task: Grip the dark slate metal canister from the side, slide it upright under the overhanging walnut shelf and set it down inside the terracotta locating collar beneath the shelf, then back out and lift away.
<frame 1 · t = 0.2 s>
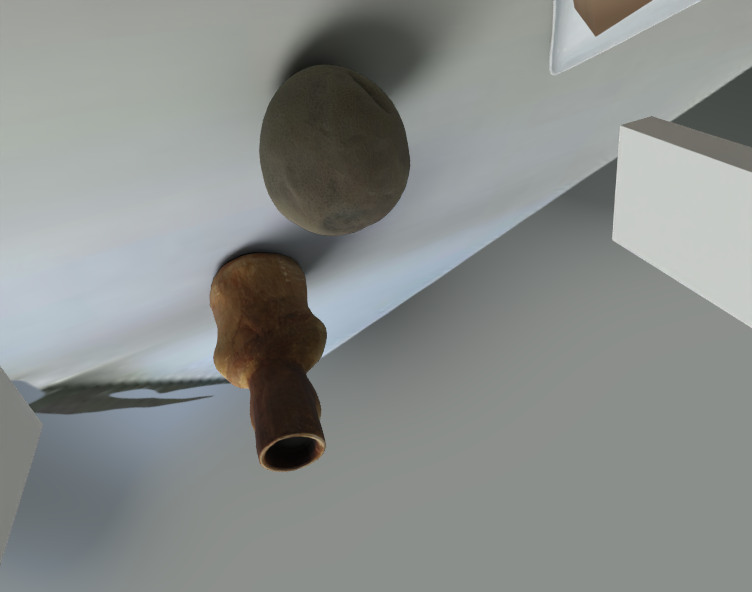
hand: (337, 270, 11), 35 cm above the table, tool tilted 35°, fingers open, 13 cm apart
ceramic vessel: (246, 267, 80), on the table
cantaloupe: (308, 94, 55), on the table
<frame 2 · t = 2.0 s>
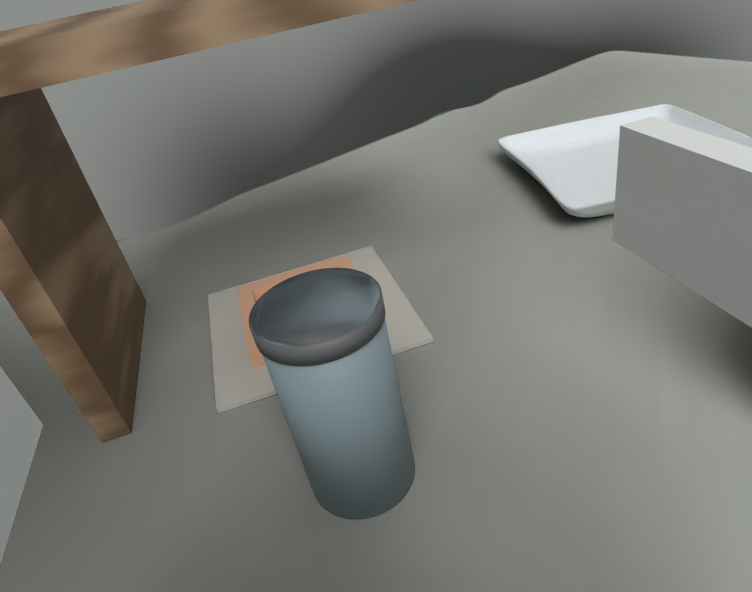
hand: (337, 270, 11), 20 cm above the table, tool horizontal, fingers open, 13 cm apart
canister: (363, 472, 32), on the table
shelf: (281, 312, 47), on the table
seat collar: (308, 317, 46), on the table
salad plate: (623, 178, 58), on the table
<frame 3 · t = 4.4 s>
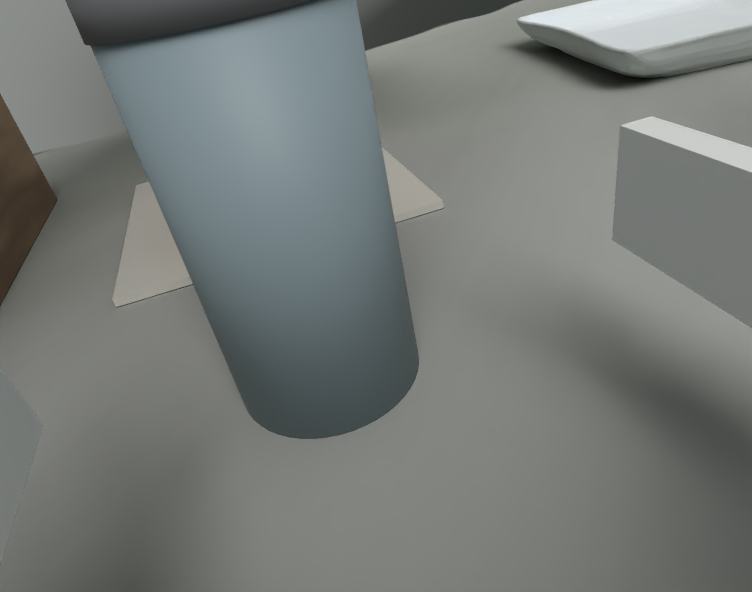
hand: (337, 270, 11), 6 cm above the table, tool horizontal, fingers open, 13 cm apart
canister: (330, 369, 19), on the table
shelf: (230, 195, 34), on the table
seat collar: (266, 197, 33), on the table
salad plate: (682, 49, 45), on the table
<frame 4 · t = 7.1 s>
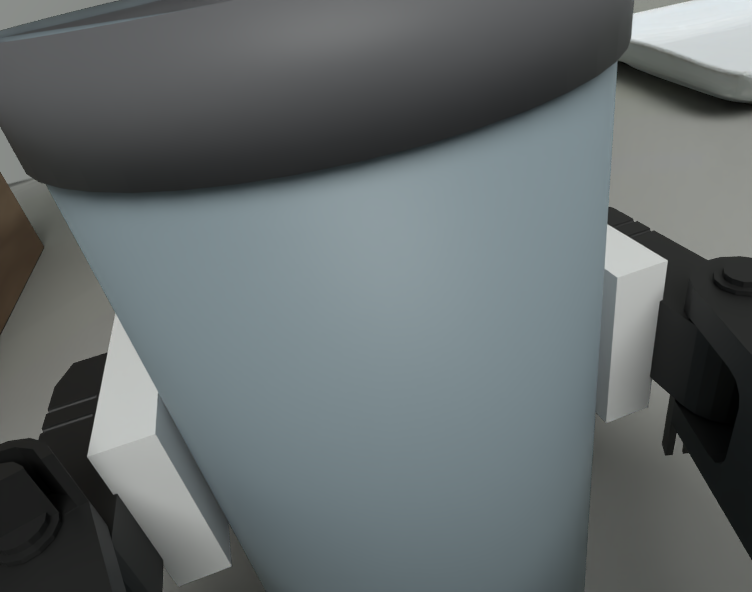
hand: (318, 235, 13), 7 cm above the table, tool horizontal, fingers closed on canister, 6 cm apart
shelf: (254, 252, 27), on the table
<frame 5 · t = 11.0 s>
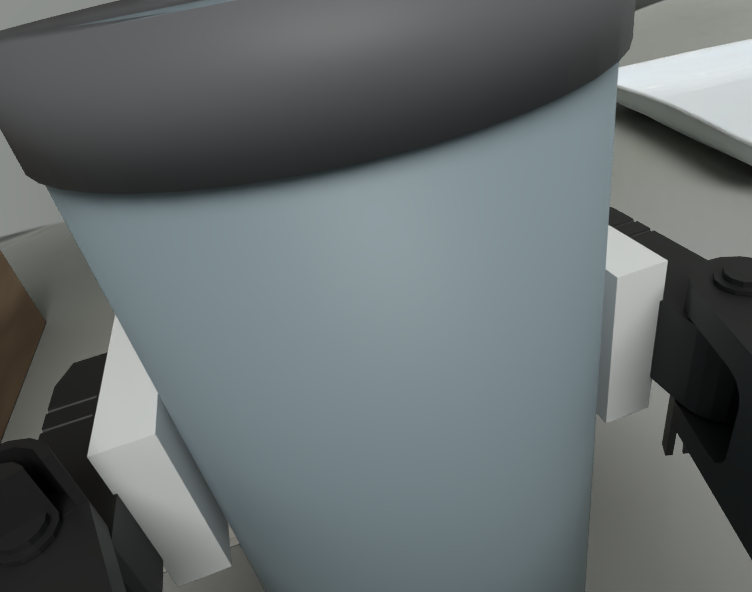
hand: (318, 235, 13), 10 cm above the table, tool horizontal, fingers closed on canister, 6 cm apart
shelf: (269, 343, 26), on the table
when the fingers open (8 cm above the table, at t = 15.2 s): canister stays where it is, resting on seat collar.
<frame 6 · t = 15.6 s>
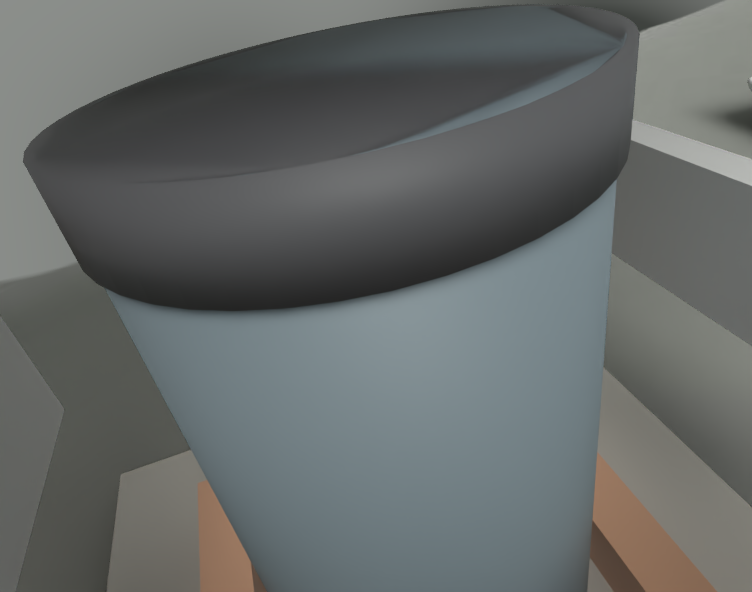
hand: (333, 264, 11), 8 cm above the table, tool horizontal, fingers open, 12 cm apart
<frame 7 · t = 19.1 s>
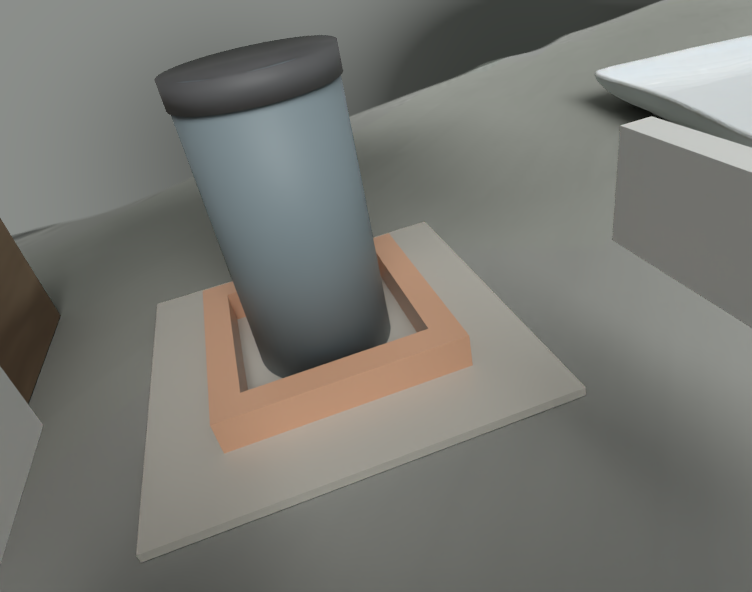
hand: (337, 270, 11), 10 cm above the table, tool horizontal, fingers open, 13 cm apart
canister: (325, 336, 25), resting on seat collar
shelf: (279, 333, 27), on the table
seat collar: (327, 343, 25), on the table
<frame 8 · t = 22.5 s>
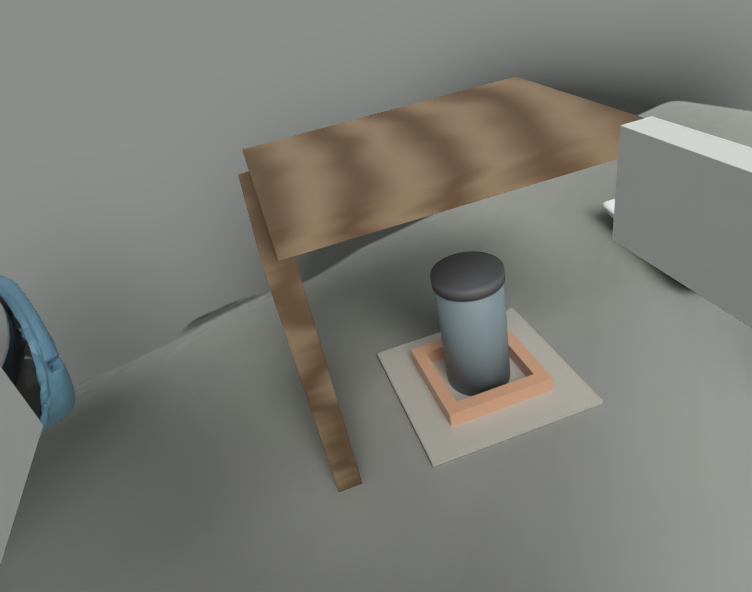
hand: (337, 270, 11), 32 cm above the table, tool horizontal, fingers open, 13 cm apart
canister: (478, 374, 53), resting on seat collar
shelf: (451, 371, 55), on the table
seat collar: (478, 377, 54), on the table
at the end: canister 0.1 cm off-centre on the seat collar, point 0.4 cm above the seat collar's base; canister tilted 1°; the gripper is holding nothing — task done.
